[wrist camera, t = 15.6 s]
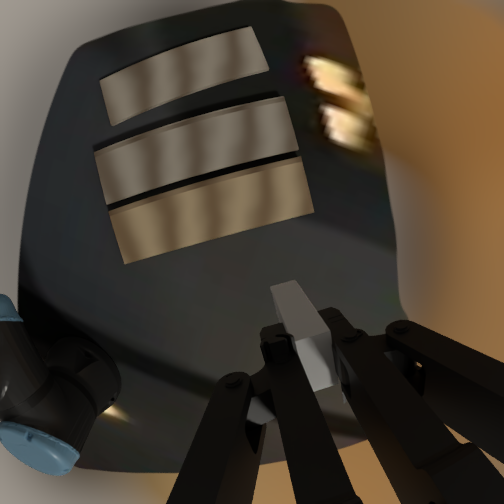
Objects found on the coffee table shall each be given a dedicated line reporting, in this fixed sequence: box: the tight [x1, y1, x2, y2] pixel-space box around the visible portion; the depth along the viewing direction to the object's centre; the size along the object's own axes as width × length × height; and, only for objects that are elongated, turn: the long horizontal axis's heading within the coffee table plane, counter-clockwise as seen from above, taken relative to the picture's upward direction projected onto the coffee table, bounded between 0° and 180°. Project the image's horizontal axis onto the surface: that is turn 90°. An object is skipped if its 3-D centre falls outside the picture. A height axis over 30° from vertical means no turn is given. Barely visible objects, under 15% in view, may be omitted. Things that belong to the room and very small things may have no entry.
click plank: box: [94, 96, 299, 204], centre depth 40 cm, size 28×8×1 cm, turn 105°
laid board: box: [109, 156, 314, 264], centre depth 41 cm, size 28×8×1 cm, turn 105°
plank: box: [100, 27, 269, 126], centre depth 37 cm, size 24×8×1 cm, turn 109°
